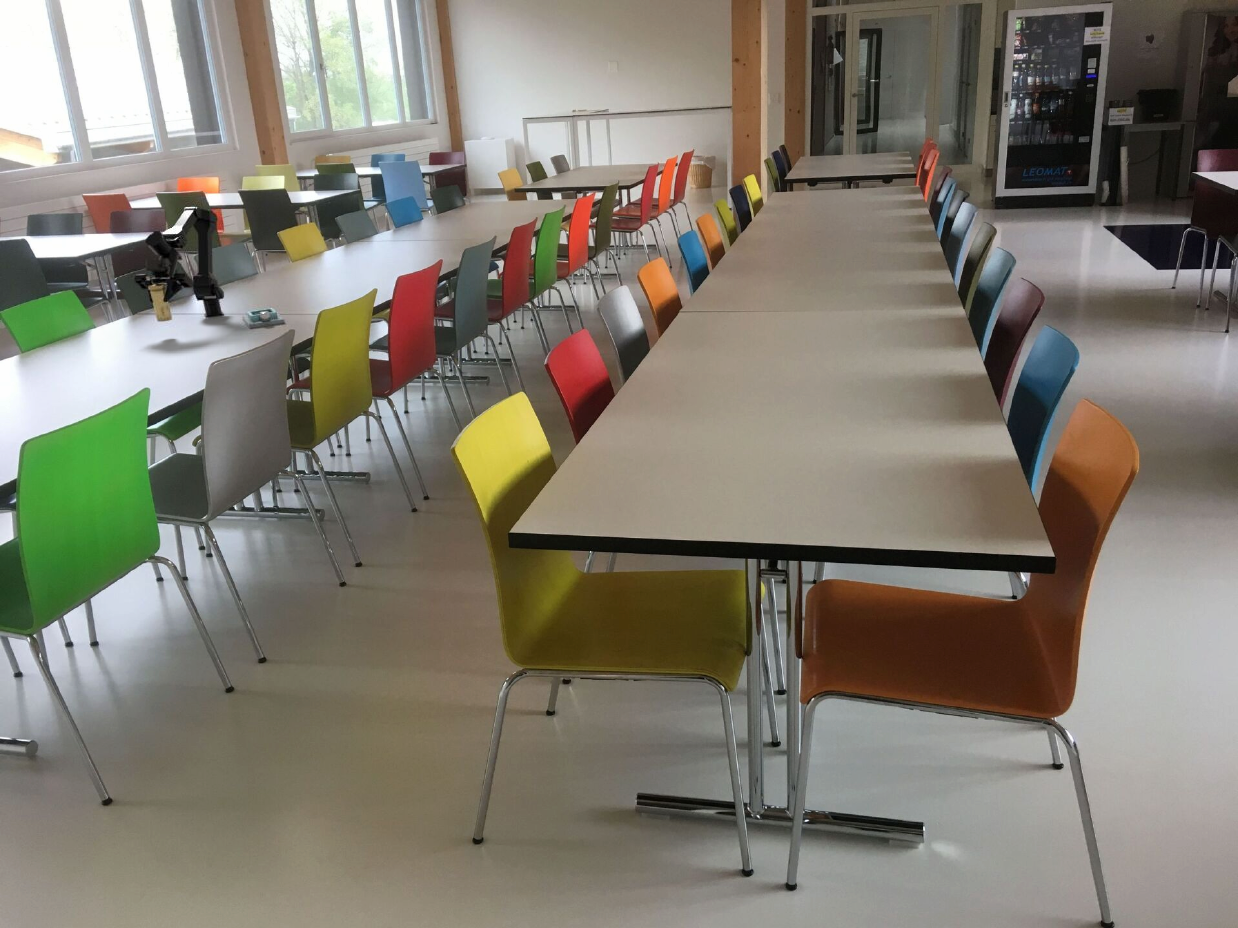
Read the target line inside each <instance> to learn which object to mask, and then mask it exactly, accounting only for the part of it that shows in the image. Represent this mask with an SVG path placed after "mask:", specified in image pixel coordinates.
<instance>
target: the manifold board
mask: <svg viewBox="0 0 1238 928" xmlns="http://www.w3.org/2000/svg"><path fill="white" fill-rule="evenodd" d="M241 317H242V320H243V322H244V323H245V325H247V327H248V328H249V329H256V328H264V327H270V326H275V325H282V324H285V321H286V320H285V319H284V317H282V316H281V314H279V313H278V311H277V310H275V309H274V308H272V307H269V308H265V309H263V308H262V309H257V310H256V309H255V310H251V311H246V314H245V315H241Z"/></svg>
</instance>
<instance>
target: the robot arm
mask: <svg viewBox="0 0 1238 928" xmlns="http://www.w3.org/2000/svg"><path fill="white" fill-rule="evenodd" d="M182 212H183V213H182V214H180V216H179V218H178V219H177V221H176V223H175V224H173V225H174V226H172V228H169V229H166V230H165V231H164V232H163V233H162V232H161V231H160V230H159V229H158V230H153V231H152V233H150V234H149V235H148V236H147V237H146V238H145V243H146V245H147V246H148V248H149V249H151V251H152V252H153V253H154V254H155V255H156V256H159V258H158V259H146V260H145V270H146V271H149V272H151V275H152V276H154V277H151V276H148V275H147V274H146V273H144V274H143V273H140V274H135V275H134V276H133V282H134V283H135V284H136V285H137V286H138V287H139V288H140V289H141V290H143V291H145V290H147V295H148V298H149V302H150V303H151V304H153V301H152V297H151V293H150V290H149V288H148V286H150V285H154V284H165V285H166V288H165V290H166V293H165V297H164V301H165V302H167V301H168V302H169V301H171V299H172V298H173V297H174V296H175V295H176V294H177V293H179V292H180V291H182V290H183V289H191V288H192V292H193V293H194V296H195V299H196V300H197V301H199V302H200V301H202V303H203V308H204V312H205V313H203V315H204V317H205V318H212V317H214V318H215V317H220V316H224V315H225V313H224V312H223V311H222V306H221V304H220V303H221V302H220V300H223V299H224V298H225V292H224V291H223V289H222V288H221V287H220V286H219V284H218V279H217V278H216V276H215V275H214V274H213V273H214V271H213V268H214V267H213V234H215V231H216V230H217V225H218V216H217V213H215V212H214V211H213V210H212V209H208V210H207V209H204V208H201V207H198V206H190V207H189V206H188V207H184V209H183V211H182ZM192 227H193V229H194V230H195V232H196V233H197V261H198V262H197V263H198V265H197V266H198V267H197V269H198V270H197V274H196V275H193V276H192V278H191V277H190V276H189V275H188V273H186V272H184V271H183V272H179V270H178V269H177V266H178V262H179V261H182V260H183V258H182V255H181V254H180V252H179V251H177V250H182V249H184V248H185V247H186V245H187V243H188V238H187V236H188V233H190V231H191V229H192Z"/></svg>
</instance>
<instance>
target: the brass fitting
mask: <svg viewBox="0 0 1238 928" xmlns="http://www.w3.org/2000/svg"><path fill="white" fill-rule="evenodd" d="M148 288H149V290H150V293H151V297H152V301H153V303H152V304H153V309H154V313H155V317H156V322H162V323H163V322H168V321H172V320H173V317H172V312H171V307H170V303H169V301H167V302H165V301H164V297H165V293H166V289H167V285H166V284H154V285H150V286H148Z"/></svg>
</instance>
